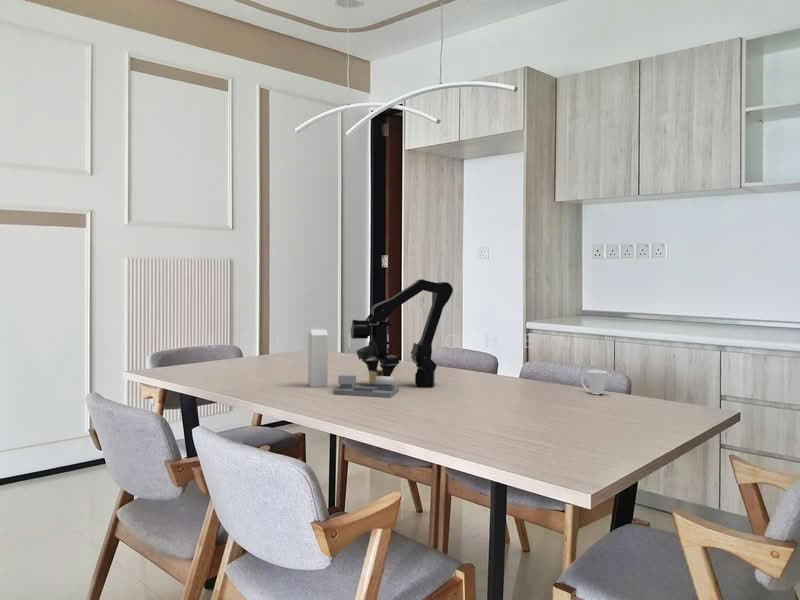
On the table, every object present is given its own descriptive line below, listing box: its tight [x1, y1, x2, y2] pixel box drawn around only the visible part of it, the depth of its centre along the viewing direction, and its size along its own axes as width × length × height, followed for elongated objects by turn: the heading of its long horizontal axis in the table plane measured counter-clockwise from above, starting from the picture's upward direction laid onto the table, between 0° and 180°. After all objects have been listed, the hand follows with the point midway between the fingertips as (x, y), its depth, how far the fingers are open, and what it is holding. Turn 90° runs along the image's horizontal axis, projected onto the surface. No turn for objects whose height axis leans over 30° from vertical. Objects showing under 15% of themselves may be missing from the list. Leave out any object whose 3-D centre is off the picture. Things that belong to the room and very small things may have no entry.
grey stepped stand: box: [333, 374, 400, 399], centre depth 222 cm, size 20×12×6 cm, turn 77°
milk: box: [307, 325, 329, 388], centre depth 234 cm, size 6×6×22 cm
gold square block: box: [368, 368, 383, 383], centre depth 234 cm, size 5×5×6 cm
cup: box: [580, 369, 609, 395], centre depth 228 cm, size 7×10×8 cm
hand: (378, 381), depth 234 cm, fingers open, 9 cm apart
